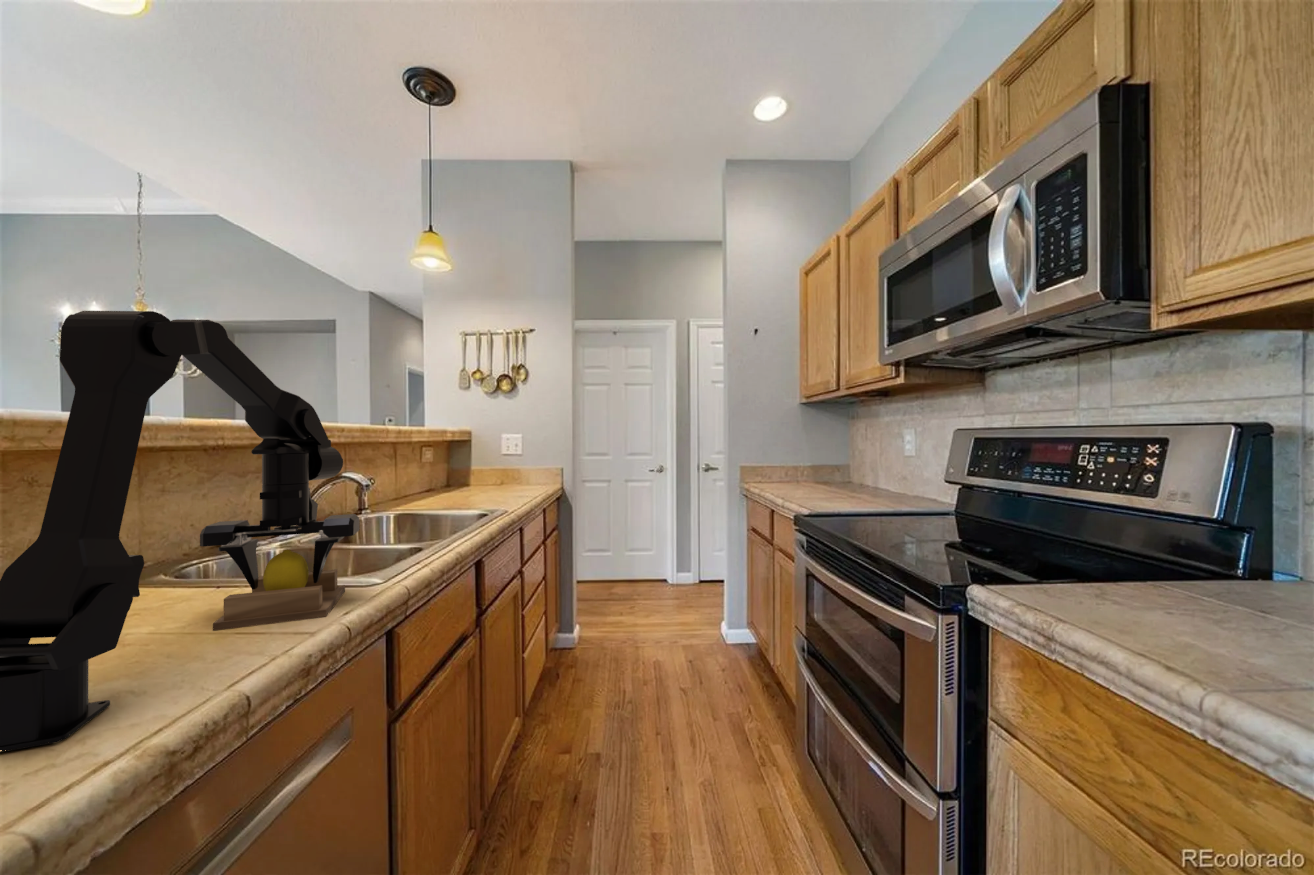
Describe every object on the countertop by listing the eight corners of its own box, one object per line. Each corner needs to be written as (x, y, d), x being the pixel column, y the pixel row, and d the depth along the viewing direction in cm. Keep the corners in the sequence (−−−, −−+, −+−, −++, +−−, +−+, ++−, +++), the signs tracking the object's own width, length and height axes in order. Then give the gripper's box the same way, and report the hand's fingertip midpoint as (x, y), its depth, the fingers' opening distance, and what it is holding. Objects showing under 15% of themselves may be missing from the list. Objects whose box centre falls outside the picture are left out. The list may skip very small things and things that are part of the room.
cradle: (326, 616, 71) (326, 589, 71) (212, 630, 66) (212, 601, 66) (345, 591, 83) (344, 568, 83) (250, 601, 78) (250, 576, 78)
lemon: (283, 608, 71) (285, 553, 71) (252, 606, 72) (254, 552, 72) (316, 597, 76) (318, 546, 77) (287, 596, 78) (289, 545, 78)
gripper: (365, 478, 86) (365, 566, 85) (231, 482, 78) (232, 579, 78) (352, 482, 75) (352, 583, 75) (197, 488, 68) (197, 599, 68)
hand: (286, 585), depth 74 cm, fingers open, 7 cm apart
